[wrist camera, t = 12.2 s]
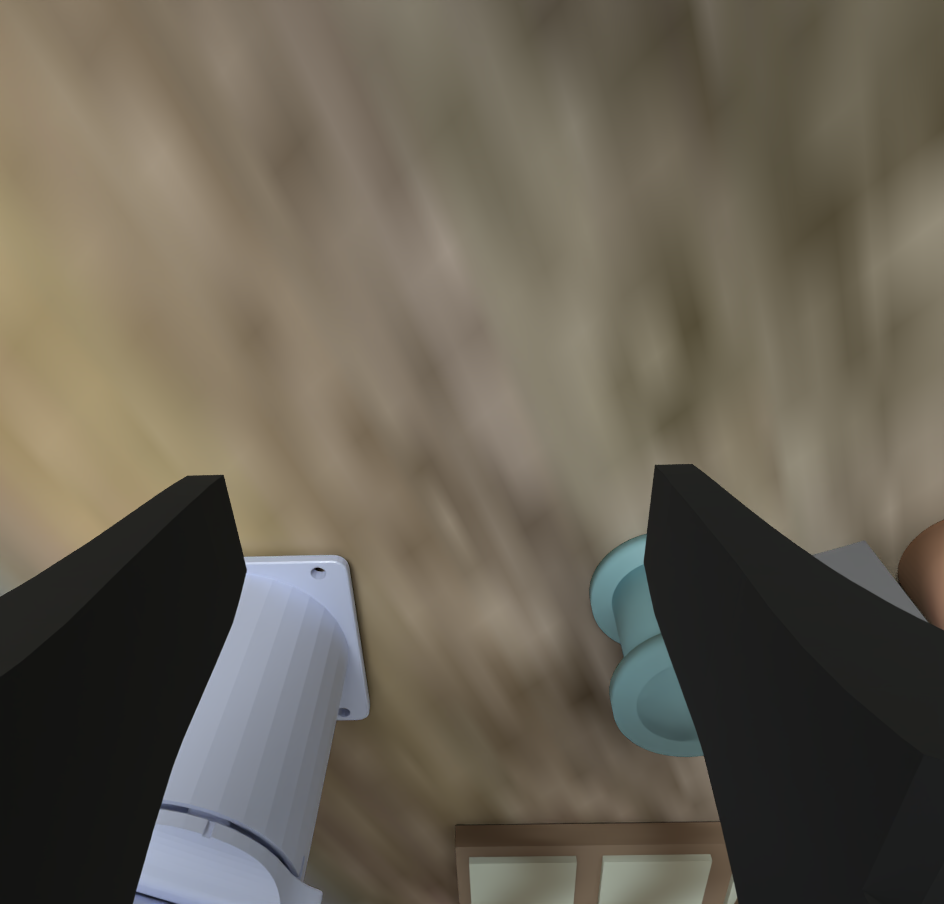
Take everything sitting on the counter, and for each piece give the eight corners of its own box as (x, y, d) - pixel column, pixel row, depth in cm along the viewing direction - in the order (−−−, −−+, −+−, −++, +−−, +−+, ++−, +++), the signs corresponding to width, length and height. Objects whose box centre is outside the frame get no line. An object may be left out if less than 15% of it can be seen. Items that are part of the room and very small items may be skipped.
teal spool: (586, 640, 26) (607, 758, 22) (593, 532, 24) (618, 642, 19) (720, 637, 26) (768, 755, 22) (742, 529, 24) (801, 638, 19)
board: (462, 917, 36) (461, 945, 35) (455, 825, 32) (455, 853, 31) (815, 913, 36) (825, 941, 35) (853, 820, 32) (867, 848, 31)
